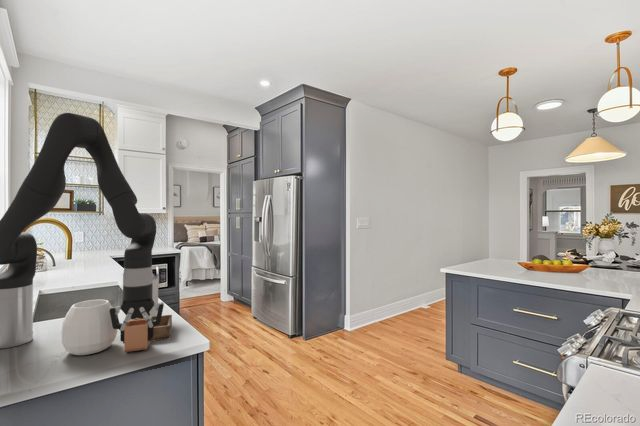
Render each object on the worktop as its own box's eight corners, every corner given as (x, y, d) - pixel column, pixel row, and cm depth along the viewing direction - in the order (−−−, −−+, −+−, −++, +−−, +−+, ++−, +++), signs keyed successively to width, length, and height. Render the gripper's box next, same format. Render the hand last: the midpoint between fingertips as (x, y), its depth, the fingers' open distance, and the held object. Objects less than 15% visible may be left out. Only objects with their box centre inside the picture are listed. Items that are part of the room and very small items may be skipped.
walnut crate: (125, 344, 99) (125, 330, 99) (132, 330, 110) (132, 318, 110) (169, 338, 103) (169, 325, 103) (171, 326, 114) (171, 314, 114)
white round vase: (128, 343, 99) (128, 298, 99) (88, 362, 86) (88, 311, 86) (92, 339, 102) (92, 296, 102) (48, 357, 89) (48, 308, 89)
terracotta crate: (124, 352, 91) (124, 326, 91) (127, 344, 96) (128, 320, 96) (146, 349, 93) (147, 324, 93) (149, 341, 98) (149, 318, 98)
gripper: (105, 287, 88) (105, 349, 88) (164, 283, 94) (163, 342, 94) (111, 281, 95) (111, 339, 95) (166, 278, 101) (165, 333, 101)
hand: (137, 340), depth 95 cm, fingers closed on terracotta crate, 5 cm apart
